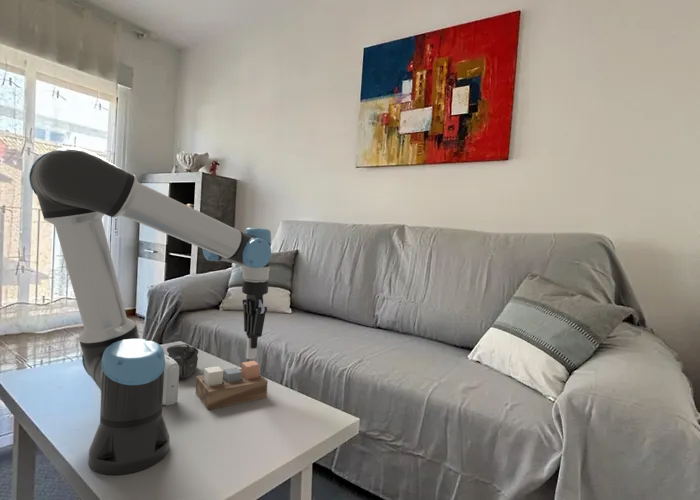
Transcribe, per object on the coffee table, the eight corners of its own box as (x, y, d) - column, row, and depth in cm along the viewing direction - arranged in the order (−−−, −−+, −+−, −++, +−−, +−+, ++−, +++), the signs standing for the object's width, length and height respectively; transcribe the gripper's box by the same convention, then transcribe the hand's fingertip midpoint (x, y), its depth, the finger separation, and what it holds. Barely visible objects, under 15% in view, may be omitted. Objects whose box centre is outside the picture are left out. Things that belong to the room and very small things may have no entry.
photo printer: (180, 402, 110) (182, 358, 109) (165, 407, 107) (167, 362, 106) (159, 391, 116) (161, 349, 115) (144, 396, 112) (146, 353, 111)
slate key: (240, 388, 116) (241, 372, 116) (227, 391, 114) (228, 374, 114) (235, 383, 119) (236, 367, 119) (222, 386, 117) (223, 369, 117)
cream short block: (222, 387, 113) (223, 370, 113) (207, 390, 110) (208, 373, 110) (217, 382, 116) (218, 366, 116) (203, 385, 114) (204, 368, 113)
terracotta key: (258, 381, 119) (259, 364, 119) (245, 383, 117) (246, 366, 117) (253, 376, 123) (254, 360, 122) (240, 378, 120) (241, 362, 120)
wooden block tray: (266, 397, 117) (267, 380, 117) (207, 409, 107) (208, 391, 107) (250, 382, 127) (251, 367, 126) (195, 392, 116) (196, 376, 116)
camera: (165, 367, 134) (167, 338, 133) (197, 365, 138) (198, 337, 137) (164, 383, 122) (165, 351, 121) (198, 380, 126) (200, 349, 125)
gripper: (277, 283, 115) (272, 362, 117) (258, 276, 125) (254, 349, 127) (252, 284, 110) (247, 366, 112) (235, 277, 121) (231, 352, 122)
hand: (251, 357), depth 120 cm, fingers closed
